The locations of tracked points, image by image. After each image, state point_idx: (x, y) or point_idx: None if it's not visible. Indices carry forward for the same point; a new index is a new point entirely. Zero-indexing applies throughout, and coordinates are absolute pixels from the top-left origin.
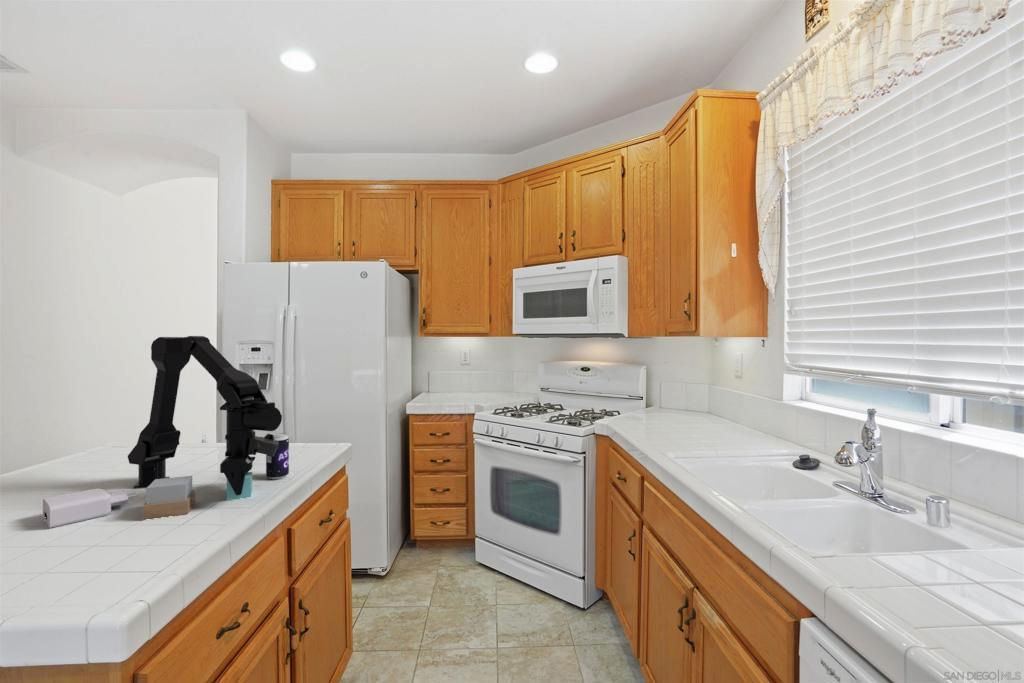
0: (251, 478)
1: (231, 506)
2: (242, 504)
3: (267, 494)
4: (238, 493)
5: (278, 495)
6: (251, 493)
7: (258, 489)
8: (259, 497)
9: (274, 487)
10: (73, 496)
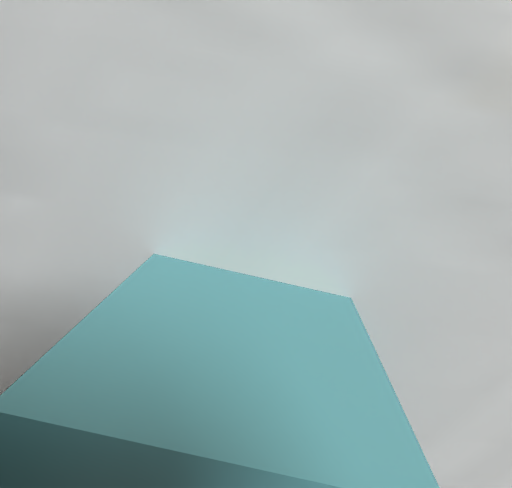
0: (241, 396)
1: (484, 446)
2: (504, 381)
3: (364, 142)
4: None
5: (504, 33)
6: (248, 278)
7: (114, 191)
8: (410, 231)
9: (128, 13)
10: None
